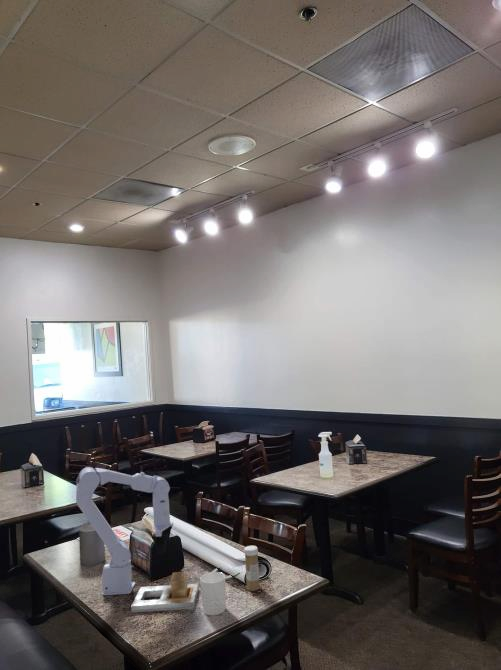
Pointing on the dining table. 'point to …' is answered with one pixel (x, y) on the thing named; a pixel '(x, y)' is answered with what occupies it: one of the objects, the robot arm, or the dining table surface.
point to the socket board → (163, 599)
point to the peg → (179, 585)
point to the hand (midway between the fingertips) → (163, 549)
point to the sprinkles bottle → (252, 567)
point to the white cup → (213, 592)
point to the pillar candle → (90, 546)
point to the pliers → (217, 570)
